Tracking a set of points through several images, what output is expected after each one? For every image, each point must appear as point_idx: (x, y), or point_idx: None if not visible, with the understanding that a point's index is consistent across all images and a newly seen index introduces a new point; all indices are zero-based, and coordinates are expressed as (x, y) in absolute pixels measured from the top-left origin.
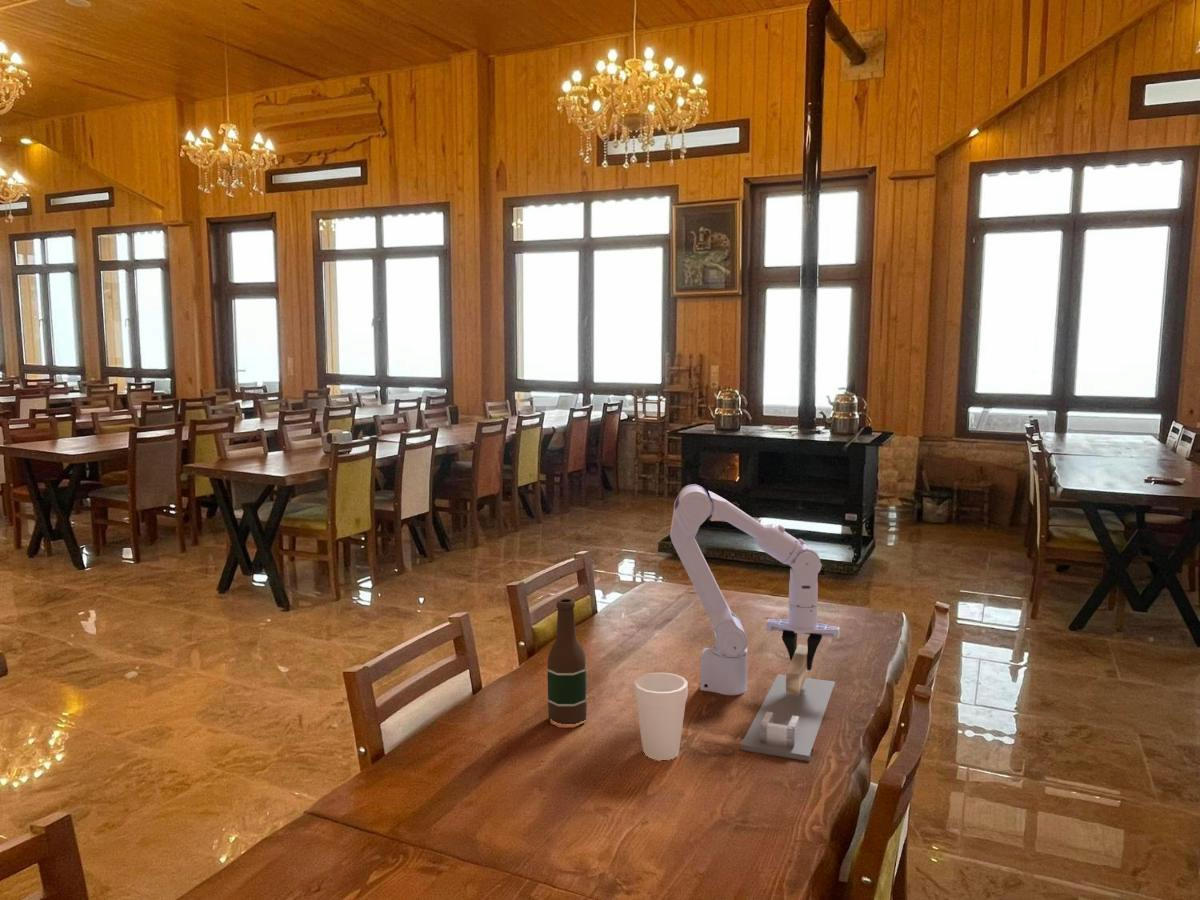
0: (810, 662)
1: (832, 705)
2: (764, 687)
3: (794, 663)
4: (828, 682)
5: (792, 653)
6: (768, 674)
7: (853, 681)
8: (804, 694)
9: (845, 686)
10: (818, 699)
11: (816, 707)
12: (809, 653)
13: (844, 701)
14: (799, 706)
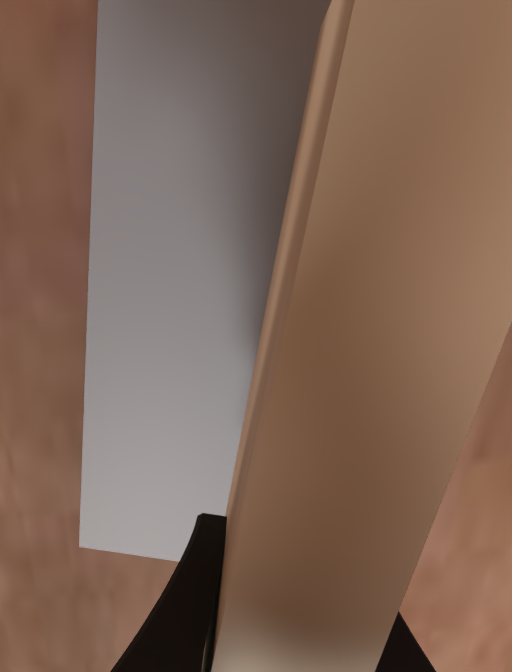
0: (185, 569)
1: (76, 279)
2: (484, 463)
3: (413, 384)
4: (115, 533)
5: (394, 670)
6: (433, 605)
7: (7, 584)
8: (254, 356)
9: (36, 530)
10: (158, 289)
11: (166, 138)
12: (179, 669)
13: (12, 349)
14: (297, 133)
